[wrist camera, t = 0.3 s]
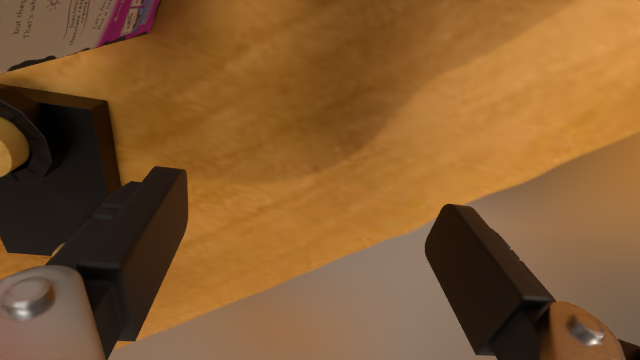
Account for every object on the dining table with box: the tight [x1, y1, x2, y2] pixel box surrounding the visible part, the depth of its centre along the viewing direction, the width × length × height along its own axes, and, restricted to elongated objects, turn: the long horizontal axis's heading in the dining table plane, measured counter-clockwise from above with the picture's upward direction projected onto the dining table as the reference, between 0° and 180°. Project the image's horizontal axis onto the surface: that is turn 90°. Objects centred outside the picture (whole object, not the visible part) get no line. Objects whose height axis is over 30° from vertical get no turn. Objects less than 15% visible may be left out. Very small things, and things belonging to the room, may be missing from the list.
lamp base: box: [0, 84, 121, 256], centre depth 25 cm, size 17×10×4 cm, turn 169°
